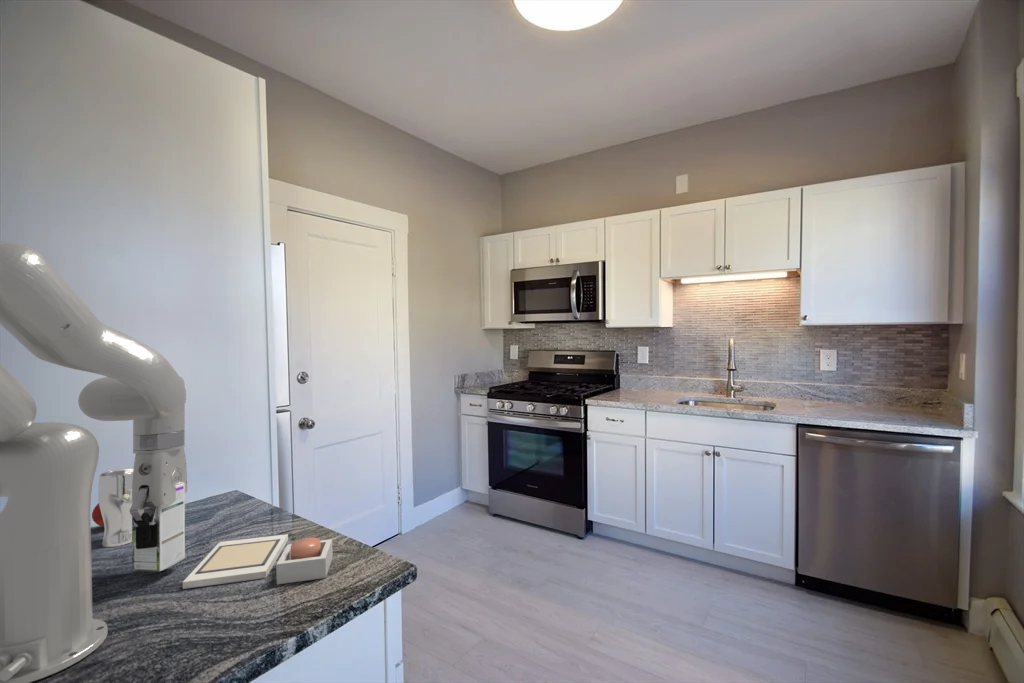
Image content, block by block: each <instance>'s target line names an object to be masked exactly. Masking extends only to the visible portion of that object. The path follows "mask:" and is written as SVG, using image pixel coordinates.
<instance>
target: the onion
mask: <svg viewBox="0 0 1024 683" xmlns="http://www.w3.org/2000/svg"><path fill="white" fill-rule="evenodd" d="M91 519H92V521H93V522H94V523H95V524H96V525H98V526H99V527H103V528H104V522H103V518H102V514H101V510H100V506H99V502H98V503H97V504H96V505H95V507H94V508H93V510H92V513H91Z"/></svg>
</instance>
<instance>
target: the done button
mask: <svg viewBox="0 0 1024 683" xmlns="http://www.w3.org/2000/svg"><path fill="white" fill-rule="evenodd" d="M320 540H321V539H320V538H319V537H305V538H301V539H298V540H296V541H294V542H292V543H291V544H292V545H291V560H295V559H303V558H311V557H319V556H320V555H321V542H320Z"/></svg>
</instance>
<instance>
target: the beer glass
mask: <svg viewBox="0 0 1024 683" xmlns="http://www.w3.org/2000/svg"><path fill="white" fill-rule="evenodd" d="M133 469H134V467H124V468H118V469H117V468H116V469H113V470H109V471H105V472H101V473H100V474H99V475H98V476H99V477H98V490H97V491H98V492H97V495H98V496H97V497H98V503H99V506H100V510H101V514H102V518H103V522H104V527H103V528H104V533H103V538H102V543H101V545H102V547H104V548H114V547H119V546H124V545H127V544H132V515H131V514H130V508H131V506H132V480H133Z"/></svg>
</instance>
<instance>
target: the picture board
mask: <svg viewBox="0 0 1024 683" xmlns="http://www.w3.org/2000/svg"><path fill="white" fill-rule="evenodd" d="M288 541H289V534H279V535H278V534H277V535H269V536H261V537H260V536H259V537H252V538H250V537H249V538H244V539H243V538H242V539H234V540H227V541H226V540H225V541H219V542H218V543H217V544H216V545H215V546H214V547H213V548H212V550H211V551H210V552H209V553H208V554H207V555H206V556H205V557H204V558H203V559H202V561H201V562H200V563H199V564H198V565H197V566H196V567H195V568H194V569H193V570H192V572H191V573H189V574H188V576H186V578H185V579H184V580H183V581H182V590H185V589H191V588H200V587H208V586H214V585H221V584H229V583H230V584H231V583H237V582H245V581H246V582H247V581H252V580H254V581H255V580H259V579H266V578H267V577H268V576H269V573H270V572H271V570H272V568H273V567H274V565H275V563H277V559H278V558H279V556H280V555H281V553H282V551H284V549H285V547H286V544H287V543H286V542H288Z"/></svg>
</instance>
